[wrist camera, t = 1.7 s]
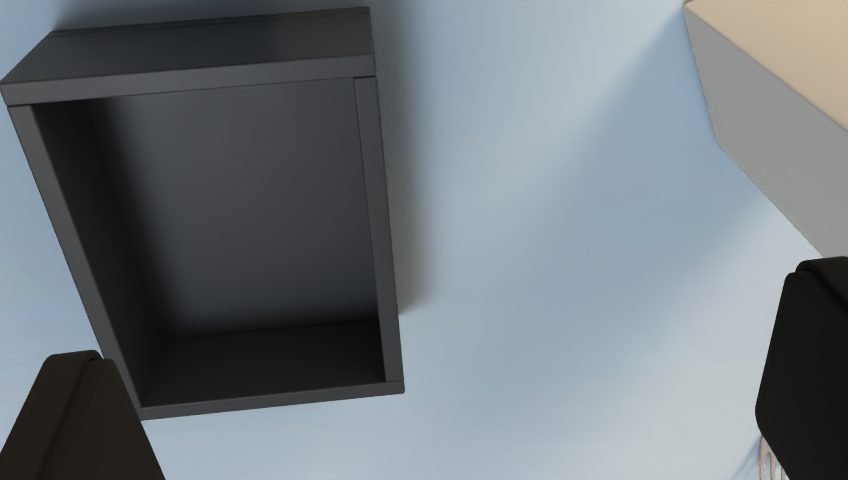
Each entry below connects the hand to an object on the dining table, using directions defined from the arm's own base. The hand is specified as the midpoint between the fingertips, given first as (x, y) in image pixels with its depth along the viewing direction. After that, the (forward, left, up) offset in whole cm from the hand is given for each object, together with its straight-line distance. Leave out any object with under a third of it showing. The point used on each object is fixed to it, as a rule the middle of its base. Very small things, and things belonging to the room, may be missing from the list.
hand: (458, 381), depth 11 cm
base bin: (+9, -7, -21) cm, 24 cm away
